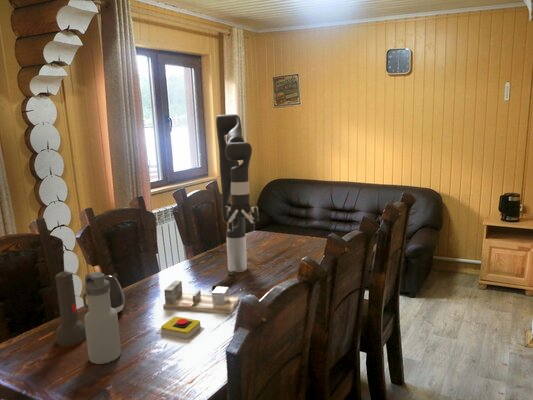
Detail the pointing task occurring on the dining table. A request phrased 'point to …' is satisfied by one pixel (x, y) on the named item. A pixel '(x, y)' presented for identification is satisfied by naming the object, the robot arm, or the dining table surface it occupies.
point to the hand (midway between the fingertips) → (242, 231)
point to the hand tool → (226, 280)
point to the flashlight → (68, 312)
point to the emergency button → (181, 328)
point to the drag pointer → (196, 297)
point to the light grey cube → (220, 295)
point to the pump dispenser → (115, 293)
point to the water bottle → (100, 321)
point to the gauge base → (183, 301)
